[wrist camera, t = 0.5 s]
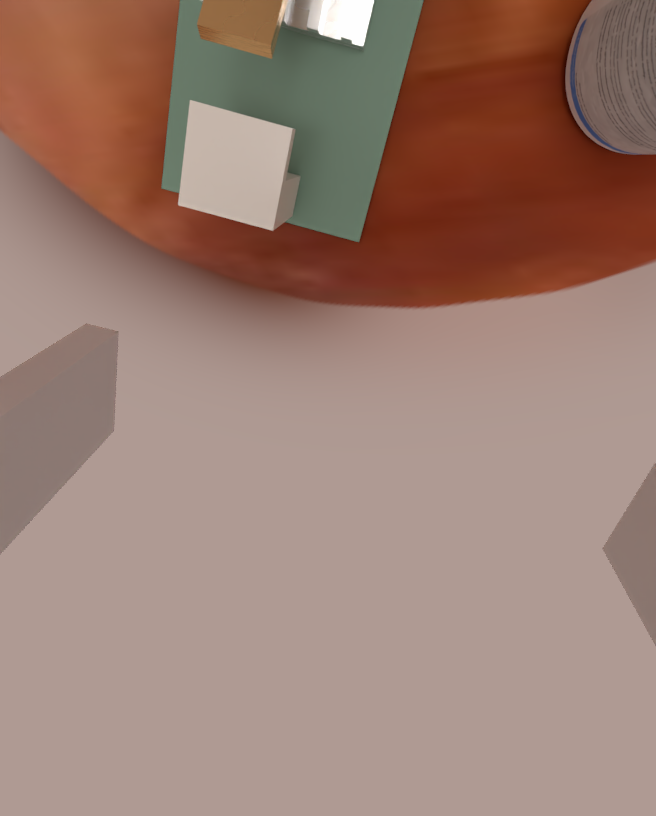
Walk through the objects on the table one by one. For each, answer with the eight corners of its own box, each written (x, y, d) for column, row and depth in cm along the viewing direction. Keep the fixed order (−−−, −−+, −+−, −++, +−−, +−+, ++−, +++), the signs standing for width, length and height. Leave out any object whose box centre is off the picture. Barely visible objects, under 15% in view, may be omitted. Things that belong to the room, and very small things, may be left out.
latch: (227, 110, 31) (189, 99, 25) (309, 133, 31) (292, 128, 25) (215, 195, 33) (177, 205, 27) (292, 216, 34) (272, 231, 27)
